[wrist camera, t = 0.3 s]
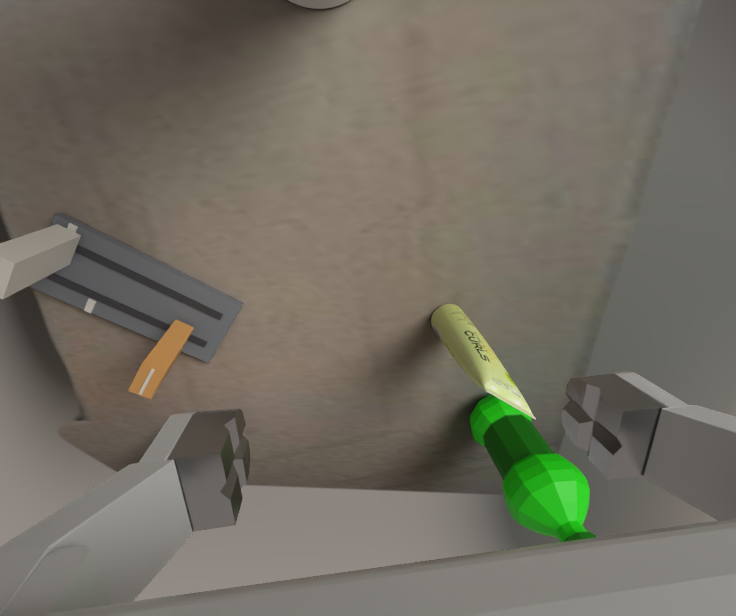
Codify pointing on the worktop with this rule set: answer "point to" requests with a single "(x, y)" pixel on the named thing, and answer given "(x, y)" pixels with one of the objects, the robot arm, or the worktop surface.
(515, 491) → the plastic bottle
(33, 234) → the fader white
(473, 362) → the tube
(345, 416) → the worktop surface
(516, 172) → the worktop surface
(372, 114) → the worktop surface
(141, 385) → the fader orange
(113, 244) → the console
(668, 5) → the worktop surface
